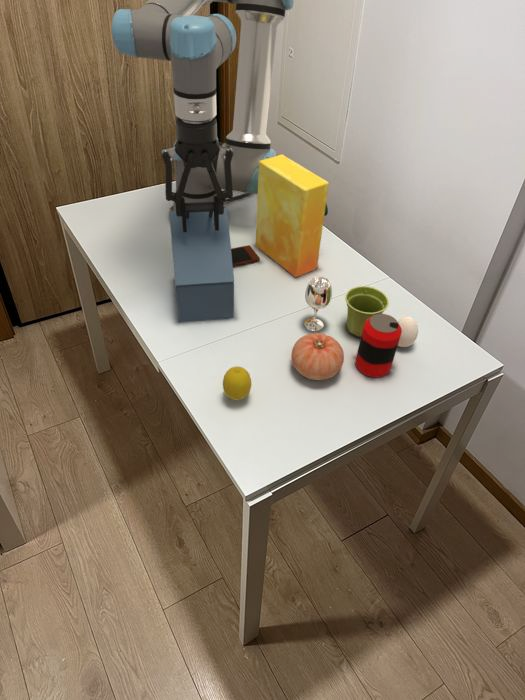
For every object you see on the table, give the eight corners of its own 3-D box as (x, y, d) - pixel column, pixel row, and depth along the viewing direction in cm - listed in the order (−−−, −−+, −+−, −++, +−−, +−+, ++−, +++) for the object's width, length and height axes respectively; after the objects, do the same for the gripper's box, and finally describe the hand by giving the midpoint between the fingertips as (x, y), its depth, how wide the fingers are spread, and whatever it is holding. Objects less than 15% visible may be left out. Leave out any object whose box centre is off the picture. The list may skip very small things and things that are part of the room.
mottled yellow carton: (331, 262, 140) (345, 176, 124) (295, 278, 135) (305, 190, 118) (290, 232, 150) (298, 149, 134) (254, 246, 145) (258, 160, 128)
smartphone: (196, 255, 138) (249, 244, 143) (196, 258, 139) (249, 247, 144) (205, 270, 134) (260, 258, 138) (205, 273, 134) (260, 261, 139)
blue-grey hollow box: (175, 280, 132) (172, 247, 125) (225, 277, 134) (225, 244, 127) (178, 322, 121) (175, 287, 114) (233, 317, 123) (234, 283, 116)
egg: (388, 350, 117) (396, 324, 112) (389, 334, 121) (397, 308, 116) (413, 355, 116) (421, 328, 111) (413, 339, 120) (422, 313, 115)
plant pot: (386, 341, 119) (394, 311, 113) (346, 344, 118) (352, 314, 112) (373, 314, 126) (380, 284, 120) (335, 317, 124) (340, 287, 118)
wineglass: (322, 336, 120) (329, 293, 111) (298, 329, 121) (303, 287, 112) (329, 320, 124) (336, 278, 115) (305, 314, 125) (311, 272, 116)
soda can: (388, 381, 110) (401, 339, 102) (352, 373, 112) (362, 331, 103) (392, 357, 116) (404, 315, 107) (357, 349, 117) (367, 307, 109)
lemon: (228, 384, 108) (228, 356, 102) (254, 390, 107) (255, 362, 101) (218, 403, 104) (218, 375, 98) (245, 410, 103) (246, 383, 97)
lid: (169, 212, 116) (168, 199, 108) (226, 209, 117) (229, 196, 110) (175, 286, 114) (174, 278, 107) (233, 282, 116) (237, 274, 109)
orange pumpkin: (328, 396, 107) (334, 368, 101) (280, 376, 110) (283, 348, 105) (348, 363, 114) (354, 335, 108) (303, 345, 117) (306, 317, 112)
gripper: (142, 126, 93) (155, 239, 109) (250, 123, 96) (247, 235, 112) (142, 109, 98) (154, 220, 114) (244, 108, 101) (242, 216, 117)
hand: (200, 227), depth 113 cm, fingers closed on lid, 6 cm apart
